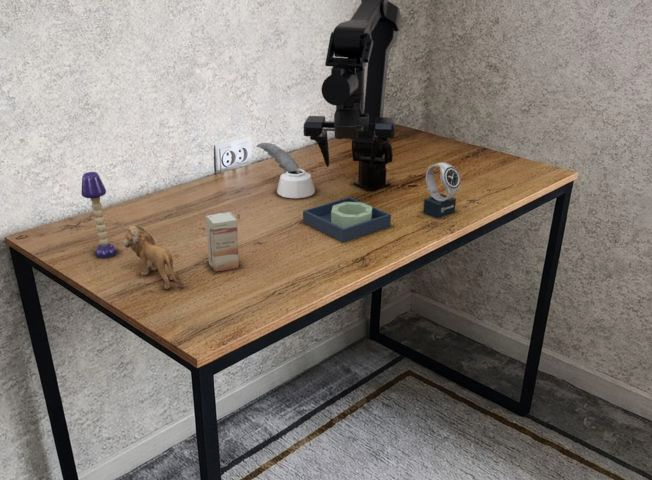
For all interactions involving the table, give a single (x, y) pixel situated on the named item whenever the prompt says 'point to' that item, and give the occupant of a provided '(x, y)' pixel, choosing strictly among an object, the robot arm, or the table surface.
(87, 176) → the toy lamp
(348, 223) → the ring
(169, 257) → the lion figurine
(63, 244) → the table surface
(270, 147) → the inkwell
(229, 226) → the small carton box
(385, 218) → the tray
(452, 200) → the watch
